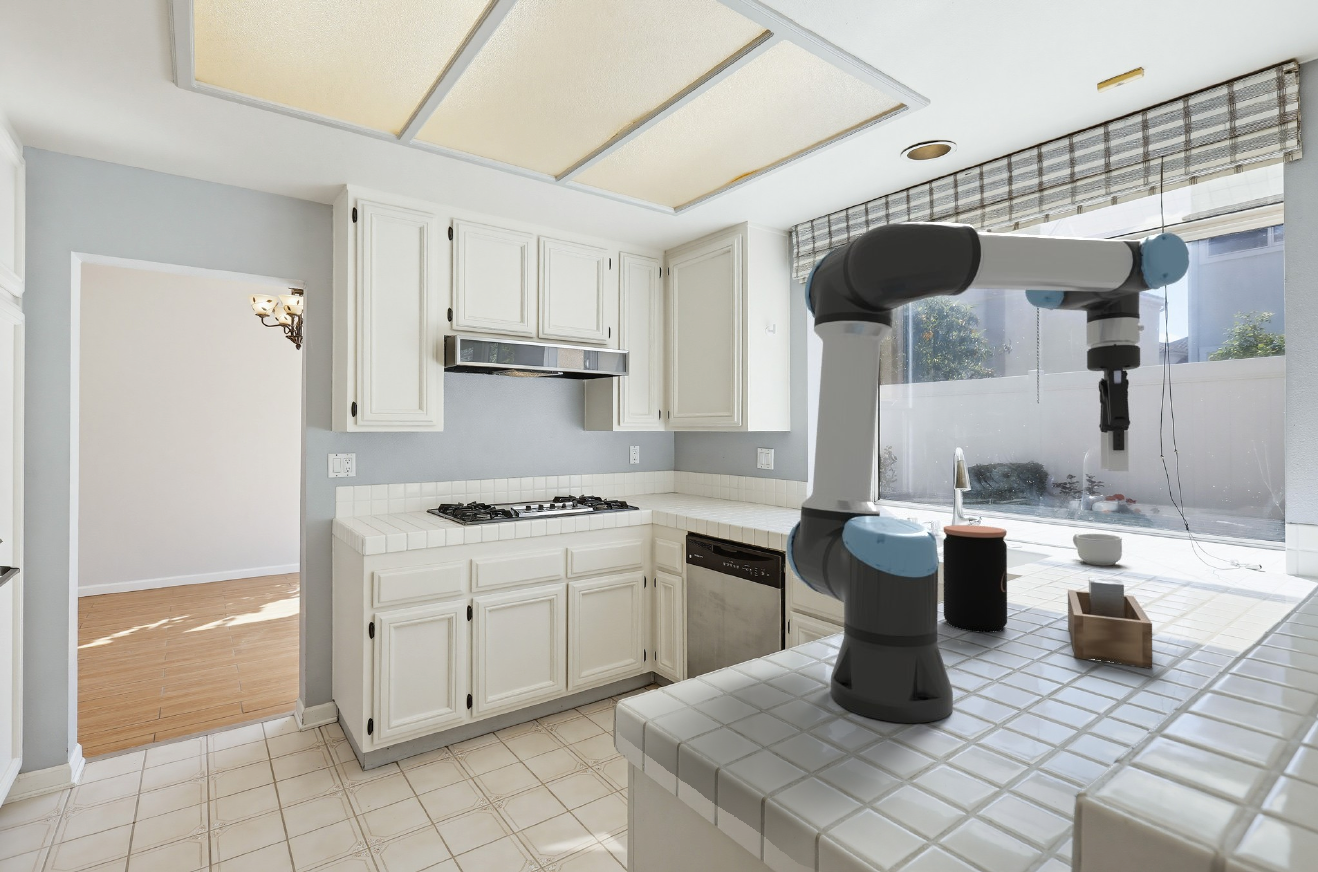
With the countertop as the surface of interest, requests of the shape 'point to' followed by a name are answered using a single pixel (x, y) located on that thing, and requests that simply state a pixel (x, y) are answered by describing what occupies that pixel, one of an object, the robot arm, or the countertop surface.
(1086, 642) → the trough
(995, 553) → the coffee jar
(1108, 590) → the steel bar
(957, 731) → the countertop surface
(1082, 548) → the teacup
